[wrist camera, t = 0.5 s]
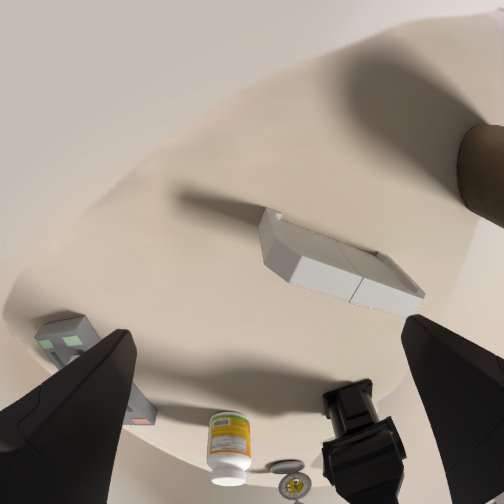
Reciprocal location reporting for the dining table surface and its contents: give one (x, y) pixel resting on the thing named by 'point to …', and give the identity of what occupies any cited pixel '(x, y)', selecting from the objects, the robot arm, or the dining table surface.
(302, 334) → the dining table surface
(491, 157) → the pillar candle
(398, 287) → the light switch
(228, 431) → the supplement bottle
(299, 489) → the pocket watch
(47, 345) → the panel
